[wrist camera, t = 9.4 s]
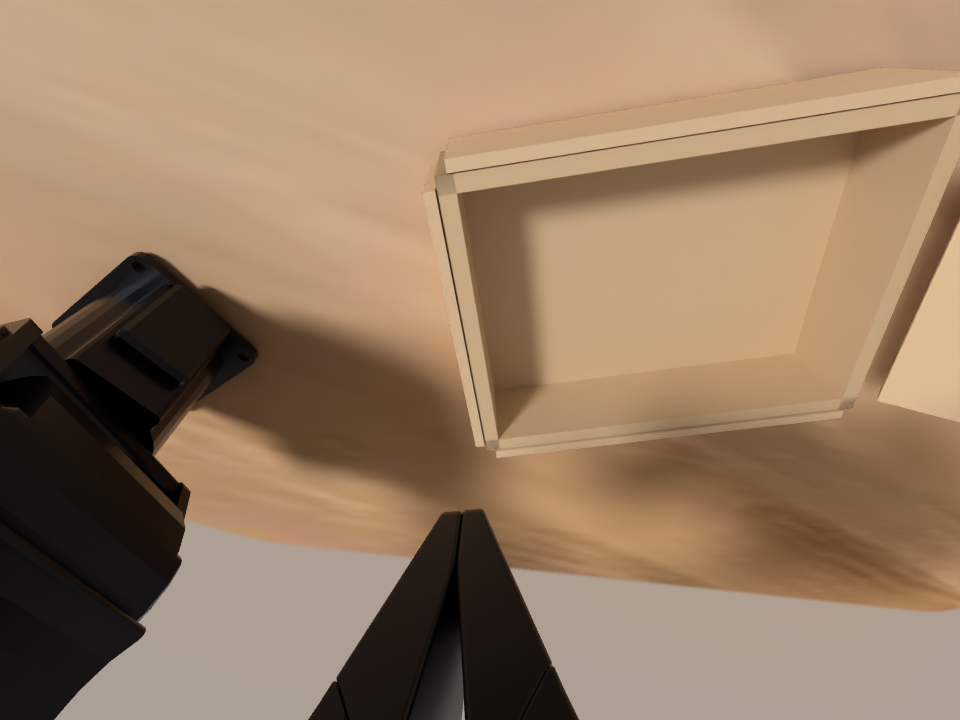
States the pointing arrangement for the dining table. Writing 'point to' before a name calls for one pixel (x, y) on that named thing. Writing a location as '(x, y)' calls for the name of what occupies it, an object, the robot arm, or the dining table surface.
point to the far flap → (931, 346)
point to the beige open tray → (687, 257)
